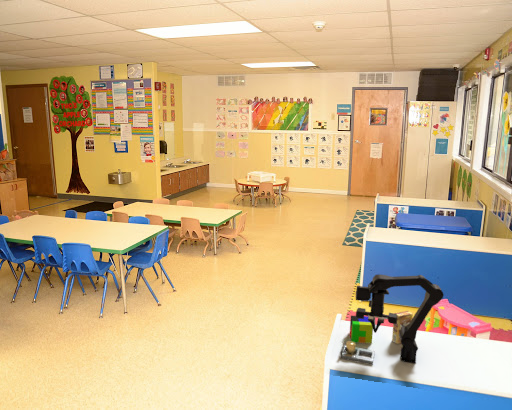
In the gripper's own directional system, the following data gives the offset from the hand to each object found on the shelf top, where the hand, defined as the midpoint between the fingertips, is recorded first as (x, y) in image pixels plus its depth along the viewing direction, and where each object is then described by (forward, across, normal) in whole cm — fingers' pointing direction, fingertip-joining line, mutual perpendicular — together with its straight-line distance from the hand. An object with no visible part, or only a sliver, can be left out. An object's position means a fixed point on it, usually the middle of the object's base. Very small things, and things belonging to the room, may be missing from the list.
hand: (375, 332), depth 204 cm
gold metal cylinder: (+12, +10, +4) cm, 16 cm away
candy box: (+12, -12, -20) cm, 26 cm away
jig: (+12, +7, +4) cm, 14 cm away
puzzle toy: (+12, +8, -15) cm, 21 cm away
